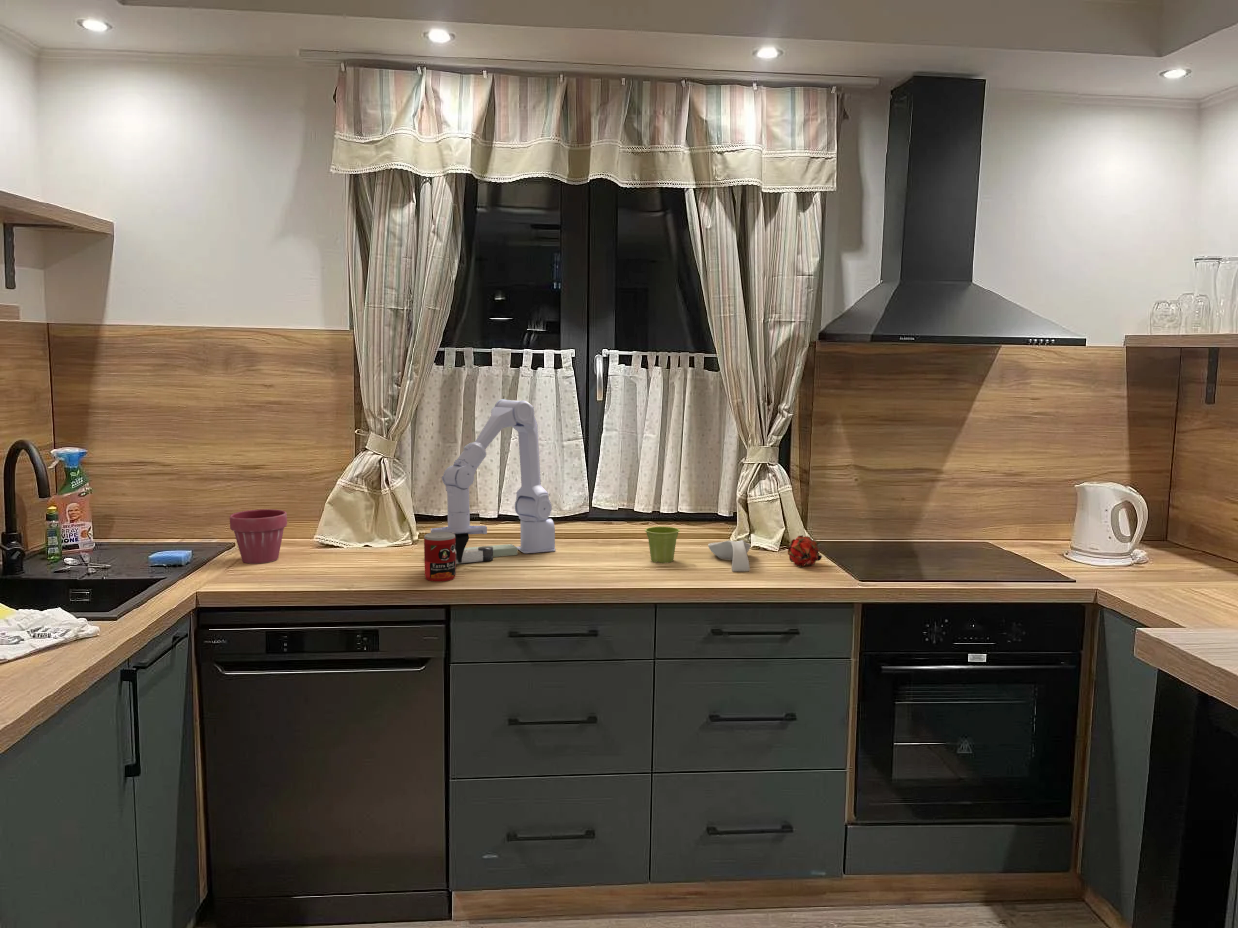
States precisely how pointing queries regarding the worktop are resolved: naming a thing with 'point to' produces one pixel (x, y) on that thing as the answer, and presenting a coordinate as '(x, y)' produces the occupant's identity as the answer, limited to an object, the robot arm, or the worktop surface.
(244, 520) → the plant pot
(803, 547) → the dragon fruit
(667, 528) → the plant pot
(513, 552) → the pale green flat bar
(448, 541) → the canned food
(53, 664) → the worktop surface
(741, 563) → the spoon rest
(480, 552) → the latch bar
